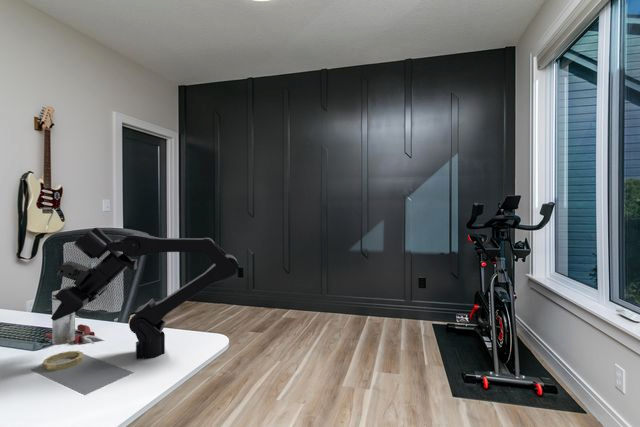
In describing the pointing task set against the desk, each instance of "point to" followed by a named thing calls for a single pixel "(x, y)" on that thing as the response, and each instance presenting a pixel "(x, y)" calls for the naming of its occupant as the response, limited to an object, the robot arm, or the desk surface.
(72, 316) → the piston
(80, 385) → the mat
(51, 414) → the desk surface
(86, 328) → the pliers
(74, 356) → the socket collar
